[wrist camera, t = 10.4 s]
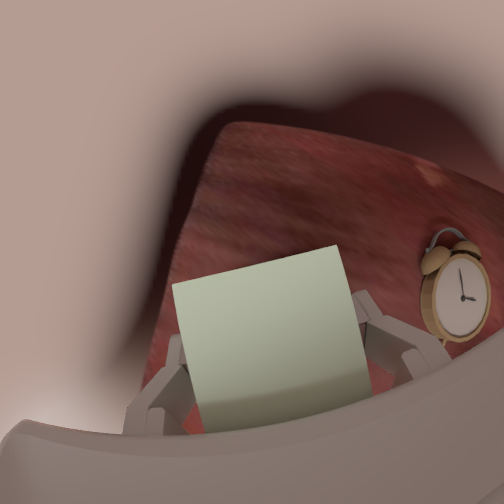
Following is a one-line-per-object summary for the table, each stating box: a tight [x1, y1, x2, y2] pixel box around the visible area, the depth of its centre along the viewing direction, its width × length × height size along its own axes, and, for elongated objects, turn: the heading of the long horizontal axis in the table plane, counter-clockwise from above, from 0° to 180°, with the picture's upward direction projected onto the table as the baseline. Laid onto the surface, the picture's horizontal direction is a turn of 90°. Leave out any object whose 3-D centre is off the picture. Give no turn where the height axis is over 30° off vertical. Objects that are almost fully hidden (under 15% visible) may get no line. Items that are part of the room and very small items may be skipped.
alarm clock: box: [420, 228, 491, 347], centre depth 28 cm, size 11×5×15 cm
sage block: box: [172, 245, 373, 434], centre depth 10 cm, size 4×4×8 cm
